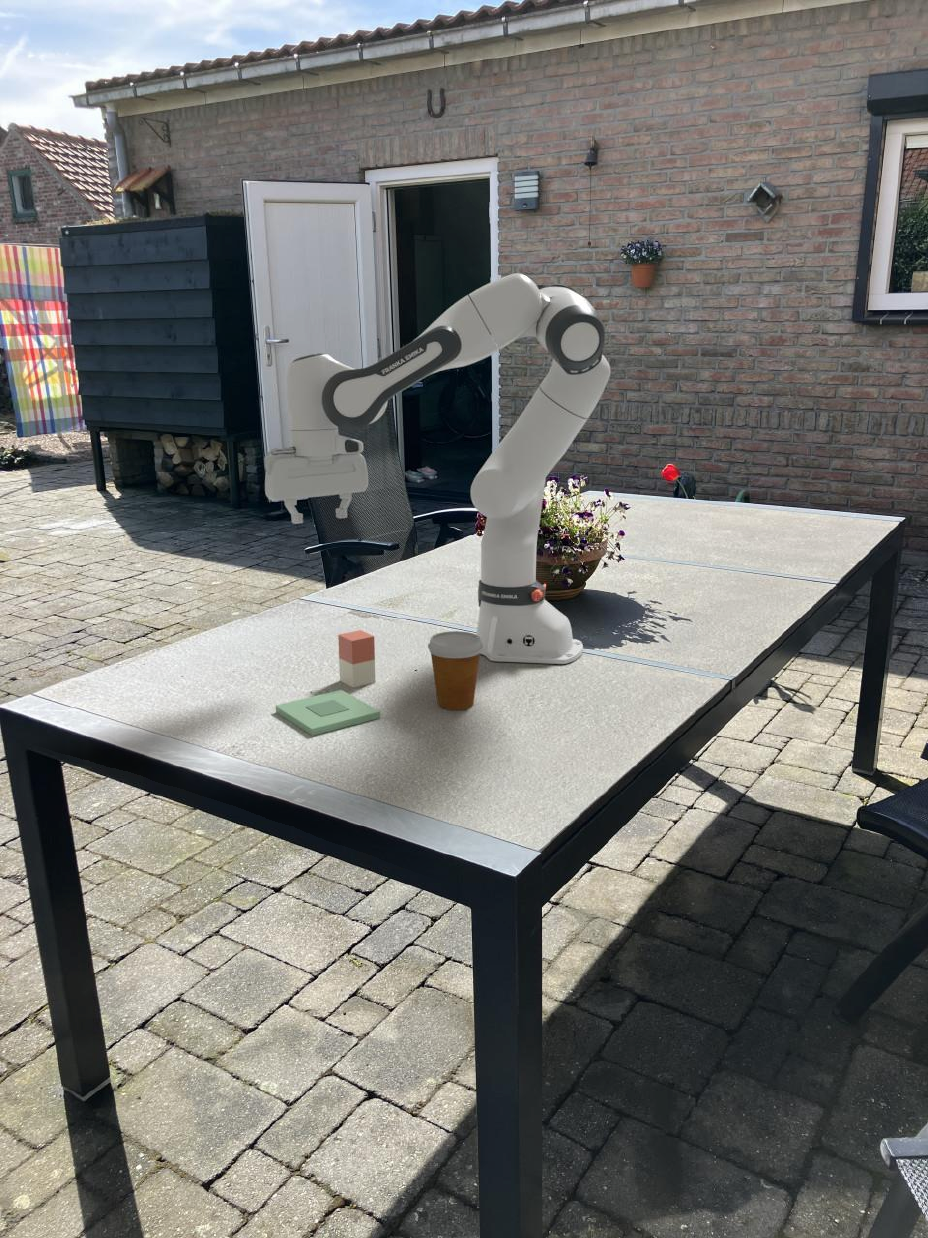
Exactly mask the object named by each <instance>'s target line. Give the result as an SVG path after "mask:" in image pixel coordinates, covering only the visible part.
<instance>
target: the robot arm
mask: <svg viewBox="0 0 928 1238" xmlns="http://www.w3.org/2000/svg"><path fill="white" fill-rule="evenodd" d="M528 337H533V338H536V340H537V341H538V343H539V345H540V346H542V347H543V349H545V350H546V351H547V352H548V353H549V355H550V357H551V358H552V362H551V366H550V368H549V371H548V373H547V375H546V376H545V377H544V378H543V380H542V381H541V383H540V384H539V385H538V388H537V389H536V391H535V393H534V394H532V395H533V396H532V397H531V398H530V400H529V402H528V403H527V405H526V407H525V408H524V410H523V411H522V412H521V414H520V416H519V417H518V419H517V420H516V422H515V423H514V424H513V426H512V427H511V428H510V430H509V431H508V432H507V434H506V435H505V436H504V437H503V439H502V440H501V441H500V443H499V444H498V445H497V446H496V448H495V449H494V450H493V452H492V453H491V454H490V456H489V457H488V458H487V460H486V461H485V463H484V464H483V466H482V467H481V468H480V470H479V471H478V473H477V474H476V475H475V477H474V478H473V481H472V483H471V486H470V499H471V502H472V504H473V506H474V508H475V509H476V510H477V512H479V513H480V515H483V516H484V517H486V520H485V526H484V532H483V535H482V538H481V542H480V579H479V580H478V586H477V587H478V588H477V601H478V607H479V613H478V614H479V615H478V621H477V628H476V633H475V634H476V635H478V636H479V637H480V640H481V643H482V644H483V648H482V649H481V652H480V655H483V656H485V657H486V658H487V659H488V660H489V661H492V662H502V663H504V662H505V663H526V664H527V663H529V664H549V665H553V664H554V665H555V664H556V665H565V664H569V663H573V662H575V661H576V660H578V659H579V657H581V655H582V654H583V651H584V645H583V642H582V641H581V640H579V639H576V638H573V631H572V626H571V625H572V624H571V622H570V620H569V618H568V617H567V616H566V615H565V614H563V613H562V612H560V611H559V610H558V609H557V608H556V607H554V605H552V604H551V603H550V602H548V600H546V589H547V588H546V587H547V584H546V583H544V584H542V583H540V582H539V581H538V580H537V579H536V577H537V576H536V574H537V573H536V572H537V547H538V546H537V542H538V537H539V536H538V535H539V528H540V522H541V515H542V510H543V509H542V507H543V499H544V491H545V490H544V489H545V486H546V478H547V476H548V475H549V474H550V472H551V471H552V470H553V469H554V467H555V466H556V464H557V463H559V461H560V460H561V459H562V457H563V456H564V455H565V454H566V452H567V450H568V449H569V448H570V446H571V445H572V444H573V441H574V440H575V439H576V437H577V435H578V434H579V433H580V431H581V430H582V428H583V427H584V425H585V424H586V422H587V421H588V419H589V418H590V416H591V415H592V413H593V412H594V410H595V408H596V407H597V405H598V404H599V403H598V402H599V401H600V399H601V397H602V396H603V393H604V391H605V390H606V389H605V388H606V387H607V384H608V382H609V379H610V377H611V372H612V371H611V366H610V363H609V361H608V360H607V358H606V357H605V356H604V355H603V349H604V345H605V341H606V329H605V325H604V322H603V320H602V317H601V316H600V314H599V313H598V312H597V311H596V310H595V308H594V306H593V305H592V304H591V303H590V302H589V300H588V299H586V298H585V297H584V296H582V295H580V294H579V293H578V291H576V290H575V289H574V288H572V287H571V286H568V285H566V284H562V283H551V284H536V283H535V282H534V281H533V280H532V279H531V278H530V277H528V276H527V275H525V274H523V273H518V272H516V273H511V274H509V275H506V276H504V277H500V278H498V279H496V280H493V281H491V282H488V283H486V284H485V285H482V286H481V287H479V288H477V289H475V290H474V291H472V292H470V293H469V294H467V295H465V296H463V297H462V298H461V299H459V300H457V301H456V302H454V304H453V305H451V306H449V308H447V309H446V310H445V311H444V312H443V313H442V314H440V316H438V317H437V318H436V320H433V322H432V323H431V324H430V325H429V326H428V327H427V328H426V329H425V330H423V332H422V333H421V334H419V336H417V337H416V338H414V339H413V340H412V341H411V342H409V343H407V344H406V345H404V346H403V347H400V348H399V349H397V350H395V351H394V352H392V353H390V354H389V355H388V356H387V355H386V357H384V358H383V359H381V360H378V362H375V363H373V364H372V365H369V366H367V367H363V368H354V367H351V366H349V365H347V364H344V363H342V362H340V361H338V360H337V359H335V358H333V357H332V356H331V355H330V354H328V353H323V352H322V353H315V354H314V353H313V354H308V355H304V356H301V357H298V358H296V359H294V360H292V362H291V363H290V364H289V366H288V369H287V375H286V397H287V399H286V400H287V408H288V411H289V414H290V424H289V440H290V447H284V448H283V447H282V448H276V447H275V448H271V449H270V450H269V451H267V453H266V454H265V456H264V457H263V459H264V460H263V462H264V469H265V479H264V492H265V496H266V497H267V499H268V500H270V501H273V502H274V501H277V502H279V501H284V506H285V508H286V509H287V510H288V513H289V514H290V517H291V523H292V524H294V525H296V524H303V523H304V519H303V518H304V514H303V513H300V512H299V511H298V510H297V508H296V507H295V506H297V503H298V502H297V501H298V499H307V498H316V497H326V496H327V497H328V496H335V495H338V496H339V499H341V502H340V505H339V507H338V508H337V507H336V508H335V517H336V518H337V519H347V518H348V508H349V506H350V504H351V502H352V500H353V498H352V497H353V496H352V493H353V494H354V493H363V492H366V490H367V489H368V486H369V474H368V473H369V472H368V467H367V461H366V459H365V456H364V455H362V454H361V453H363V451H364V443H363V442H362V441H361V440H358V439H354V438H351V437H348V436H343V435H340V434H339V429H342V430H346V431H358V430H361V429H363V428H366V427H367V426H368V425H370V424H373V423H375V422H376V421H378V420H379V419H380V418H381V417H382V416H383V415H384V414H385V412H386V410H387V408H388V404H389V400H391V399H392V398H393V397H395V396H396V395H398V394H399V393H402V392H403V391H404V390H406V389H408V388H410V387H412V386H414V385H415V384H417V383H418V382H420V381H421V380H423V379H425V378H426V377H428V376H430V375H433V374H435V373H439V372H440V371H445V370H450V369H456V368H461V367H462V368H463V367H467V366H470V365H473V364H475V363H477V362H479V361H482V360H484V359H486V358H488V357H490V356H492V355H494V354H495V353H497V352H499V351H500V350H502V349H504V348H505V347H507V346H508V345H510V344H511V343H513V342H514V341H517V340H519V339H522V338H528Z"/></svg>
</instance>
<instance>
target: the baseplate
mask: <svg viewBox="0 0 928 1238" xmlns="http://www.w3.org/2000/svg"><path fill="white" fill-rule="evenodd" d="M275 713H277V714H279V715H280V716H281V717H283V718H285V719H286V720H287V721H289V722H290V723H292V724H294V725H295V726H297V727H298V728H299V729H302V730H303V731H304V732H306V733H307V734H309V735H310V736H312V737H314V736H317V735H318V736H319V735H321V734H326V733H328V732H332V731H333V732H334V731H336V730H337V731H338V730H340V729H344V728H348V727H351V726H352V727H353V726H355V725H358V724H362V723H366V722H367V723H368V722H371V721H373V720H378V719H381V711H380V710H379V709H377V708H375V707H373V706H371V705H369V704H368V703H366V702H364V701H362V700H360V699H359V698H357V697H355V696H354V695H351V694H350V693H348V692H347V691H344V690H343V689H339V690H335V691H334V690H333V691H330V692H327V693H321V694H318V695H313V696H310V697H306V698H301V699H297V700H292V701H289V702H284V703H280V704H276V705H275Z"/></svg>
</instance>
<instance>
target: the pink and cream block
mask: <svg viewBox="0 0 928 1238" xmlns="http://www.w3.org/2000/svg"><path fill="white" fill-rule="evenodd" d="M337 637H338V638H337V639H338V660H339V661H338V664H339V681H340V682H342V683H344V684H346V685H347V686H349V687H351V688H353V689H354V688H358V687H361V686H367V685H371V684H375V683H376V653H375V650H376V649H375V635H372V634H371V633H369V632H366V631H364V630H362V629H359V630H354V631H350V632H345V633H340V634H338V636H337Z"/></svg>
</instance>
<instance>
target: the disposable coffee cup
mask: <svg viewBox="0 0 928 1238" xmlns="http://www.w3.org/2000/svg"><path fill="white" fill-rule="evenodd" d="M429 640H430V641H429V643H428V645H427V649H428V650H429V653H430V658H431V664H432V670H433V671H432V672H433V677H434V684H435V685H434V687H435V691H436V698H437V699H436V700H437V705H438V707H440V708H442V709H445V710H452V711H458V710H465V709H469V708H471V707H472V706H473V705H474V703H475V702H474V701H475V693H476V686H477V680H478V679H477V678H478V671H479V663H480V657H481V654H480V652H481V649H482V648H483V644H482V643H481V640H480V637H479V636H478V635H476V633H472V632H467V631H459V630H458V631H444V632H443V631H442V632H439V633H435V634H434V635H432V636H431V637H430V639H429Z"/></svg>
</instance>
